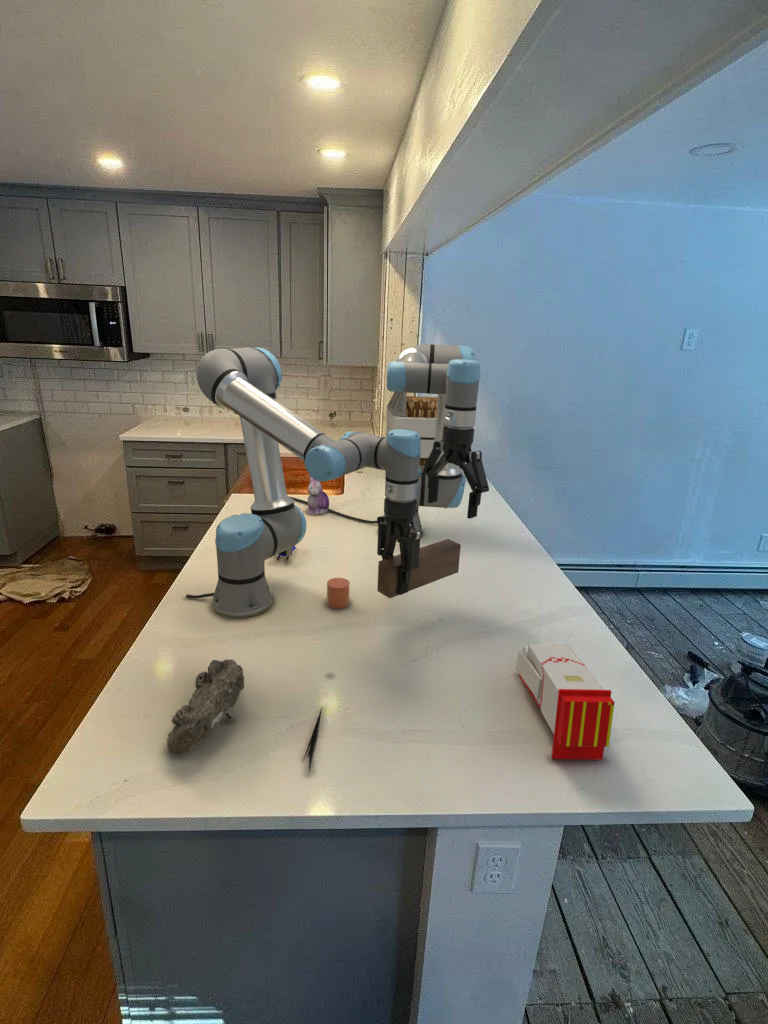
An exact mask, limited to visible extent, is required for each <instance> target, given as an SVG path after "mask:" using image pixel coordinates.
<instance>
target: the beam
mask: <svg viewBox="0 0 768 1024" xmlns="http://www.w3.org/2000/svg"><path fill="white" fill-rule="evenodd" d="M461 547H462V544H461V543H459V542H457V541H454V540H453V539H449V538H446V539H443V540H440V541H437V542H434V543H431V544H430V543H429V544H428V545H424V546H420V551H419V564H418V569H415V570H412V571H411V579H410V582H409V586H408V592H410V591H413V590H415V589H418V588H421V587H423V586H426V585H429V584H432V583H434V582H437V581H439V580H442V579H445V578H447V577H451V576H453V575H455V574H457V573H459V569H460V560H461V558H460V557H461V549H462V548H461ZM401 568H402V565H401V556H400V553H399V554H397V555H394V556H393V557H390V558H387V559H384V560H383V559H381V560H379V561H378V566H377V586H376V587H377V592H378V593H379V594H381V595H383V596H384V597H386V598H387V599H393V598H395V597H398V596H400V595H399V594H398V581H399V569H401Z"/></svg>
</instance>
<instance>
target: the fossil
mask: <svg viewBox="0 0 768 1024" xmlns="http://www.w3.org/2000/svg"><path fill="white" fill-rule="evenodd" d="M243 670H244V669H243V667H242V665H240V664H237V662H236V661H235V660H234V659H232V658H231V659H227V658H226V659H224V660H223V661H222V660H217V659H212V660H211V661H210V663H209V665H208V666H207V671H201V672H199V673H198V674H197V675H196V676H195V680H194V684H195V685H194V687H195V689H194V690H193V693H192V694H191V697H190V698H189V700H188V704H184V705H182V706H181V707H180V709H177V710H176V711H175V713H174V715H173V716H172V718H171V723H172V724H173V727H172V730H171V731H170V732H168V734H167V738H166V741H167V742H166V745H167V749H168V750H169V751H173V752H174V753H176V754H178V753H182V752H188V751H189V752H192V751H193V750H195V748H196V747H197V746H199V744H200V743H201V742H203V741H204V740H205V739H206V738H207V737H208V736H209V735H210V734H211V733H212V732H214V730H215V729H217V727H218V726H219V724H220V722H221V721H222V720H223V719H224V718H225V716H226V717H227V719H229V720H233V717H232V715H230V714H229V710H230V709H231V708H234V706H235V704H236V703H237V702H238V699H239V697H240V695H241V693H242V691H243V690H245V689H244V688H245V675H244V671H243Z"/></svg>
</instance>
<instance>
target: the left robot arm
mask: <svg viewBox="0 0 768 1024" xmlns="http://www.w3.org/2000/svg"><path fill="white" fill-rule="evenodd" d="M282 378H283V373H282V368H281V365H280V362H279V361H278V358H276V356H275V355H274V354H272V353H271V352H270V351H269V350H268V349H266V348H263V347H254V346H247V347H232V348H216V349H213V350H210V351H208V352H207V353H205V354H204V355H203V356H202V358H201V359H200V360H199V362H198V364H197V368H196V382H197V385H198V387H199V390H200V391H201V392H202V394H203V395H204V396H205V397H206V398H207V399H208V400H209V401H210V402H211V403H212V404H214V405H215V406H217V407H218V408H220V409H221V410H230V411H232V412H233V413H235V414H236V415H238V416H239V422H240V426H241V432H242V437H243V443H244V447H245V453H246V458H247V464H248V470H249V474H250V481H251V485H252V490H253V496H254V501H253V502H252V505H251V506H250V513H249V512H248V513H247V512H246V513H240V514H233V515H230V516H227V517H225V518H224V519H222V520H221V521H220V522H219V523H218V525H217V526H216V529H215V539H214V541H215V542H214V543H215V549H216V561H217V576H218V577H217V578H218V579H217V582H216V586H215V589H214V592H210V593H209V592H208V593H203V594H188V593H186V595H185V598H189V599H202V598H203V599H204V598H208V597H212V601H211V602H212V609H213V611H214V612H215V613H216V614H218V615H219V616H221V617H225V618H228V619H229V618H230V619H249V618H254V617H258V616H259V615H261V614H264V613H266V612H267V611H269V609H270V608H272V606H273V601H274V600H273V592H272V590H271V589H272V588H271V585H270V583H269V582H268V580H267V578H266V574H265V573H266V571H265V562H266V561H267V560H269V559H271V558H273V557H276V556H275V555H277V556H278V554H279V553H281V552H283V551H285V550H288V549H291V548H292V547H294V546H295V547H296V545H298V544H300V542H302V540H303V539H304V537H305V536H306V532H307V520H306V516H305V514H304V512H303V511H302V510H301V508H300V507H299V506H297V505H296V504H295V500H293V499H292V498H290V497H291V496H289V495H288V491H287V487H286V482H285V480H286V479H285V475H284V468H283V464H282V463H283V462H282V458H281V451H280V446H282V447H283V448H285V449H286V450H288V451H289V452H290V453H291V454H293V455H295V456H296V457H298V458H299V459H300V460H302V461H303V462H304V468H305V470H306V471H307V473H308V474H309V477H310V476H311V477H312V478H313V479H314V480H316V481H320V483H322V482H323V483H324V482H328V481H334V480H337V479H340V478H341V477H343V476H346V475H349V474H351V473H355V472H357V471H360V470H363V469H365V468H370V469H371V468H372V469H376V470H382V471H384V472H385V473H384V474H385V482H384V483H385V484H384V496H385V498H384V500H383V515H384V513H385V514H386V515H384V516H383V515H380V516H377V517H376V521H377V522H378V523H377V545H376V546H377V549H376V553H377V556H380V557H381V560H384V559H387V558H390V557H393V556H395V555H394V552H395V549H396V545H397V543H398V545H399V546H398V547H399V554H400V556H401V565H402V568H401V569H399V581H398V594H399V595H398V596H401V595H402V596H403V595H405V594H407V593H409V591H408V586H409V582H410V579H411V571H412V570H415V569H418V564H419V551H420V548H421V539H422V537H423V534H424V533H423V530H422V531H421V530H420V531H418V530H417V529H415V528H414V522H413V518H414V516H415V515H416V508H417V500H416V498H417V495H418V474H419V468H420V466H419V462H420V454H421V450H420V443H421V438H420V435H419V434H418V433H417V432H415V431H412V430H403V429H396V430H391V431H389V432H388V435H387V437H386V436H383V435H376V434H372V433H366V432H363V431H350V430H349V431H346V432H344V434H343V436H340V439H339V440H335V439H334V438H332V437H330V436H329V435H328V434H326V433H324V432H323V431H321V430H320V429H318V428H317V427H315V426H314V425H313V424H311V423H310V422H308V421H307V420H305V419H304V418H302V417H301V416H299V415H297V414H296V413H295V412H294V411H292V410H290V409H289V408H287V407H286V406H285V405H283V404H281V403H280V402H278V401H277V399H278V398H277V393H276V390H277V389H279V387H280V383H282ZM279 445H280V446H279ZM404 537H405V538H404ZM292 549H293V548H292Z"/></svg>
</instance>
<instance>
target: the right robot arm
mask: <svg viewBox="0 0 768 1024" xmlns="http://www.w3.org/2000/svg"><path fill="white" fill-rule="evenodd" d="M480 380H481V363H480V362H479V361H478V360H476V355H475V351H474V349H473V348H472V347H471V346H466V345H459V344H432V343H431V344H430V343H423V344H416V345H413V346H410V347H406V348H405V349H404V350H403V351H401V352H400V353H399V354H398V356H397V358H396V361H390V362H388V363H387V369H386V389H387V390H388V391H389V392H393V393H394V392H398V393H402V392H404V393H407V394H409V393H410V394H428V395H437V397H438V399H437V412H436V425H435V438H434V444H433V449H432V452H431V454H430V456H429V458H428V460H427V462H426V464H425V466H423V468H422V469H421V468H420V467H419V474H418V495H417V498H416V500H417V508H416V515H415V516H414V518H413V522H414V528H415V529H417V530H418V531H420V530H421V531H422V532H423V525H422V524H421V518H420V515H419V507H425V508H440V509H457V508H458V507H459V506H460V505H461V503H462V502H463V501H462V500H463V497H464V493H465V489H466V487H465V486H466V481H467V483H468V485H469V487H470V490H471V491H470V492H469V495H468V505H467V513H466V514H467V515H466V518H467V519H473V518H477V517H478V508H479V506H481V501H482V494H483V493H486V492H489V491H490V487H489V483H488V479H487V475H486V472H485V467H484V464H483V452H482V451H481V450H476V451H475V450H473V449H472V445H473V443H474V437H475V428H474V427H475V426H476V420H477V419H476V418H477V404H478V397H479V396H478V395H479V387H480ZM459 467H460V468H461V469H460V468H459ZM462 472H463V474H462ZM289 497H290V498H292V499H293V500H294V502H295V501H296V502H299V503H302V504H305V505H308V500H303V499H301V498H296V497H293V496H289ZM327 513H331V514H334V515H337V516H340V517H343V518H346V519H350V520H353V521H356V522H361V523H365V524H378V522H377V520H369V519H363V518H358V517H355V516H351V515H348V514H345V513H342V512H339V511H335V510H333V509H330V508H329V509H328V512H327ZM384 515H386V514H385V513H384V512H383V515H382V516H384ZM404 538H405V537H404Z"/></svg>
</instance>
